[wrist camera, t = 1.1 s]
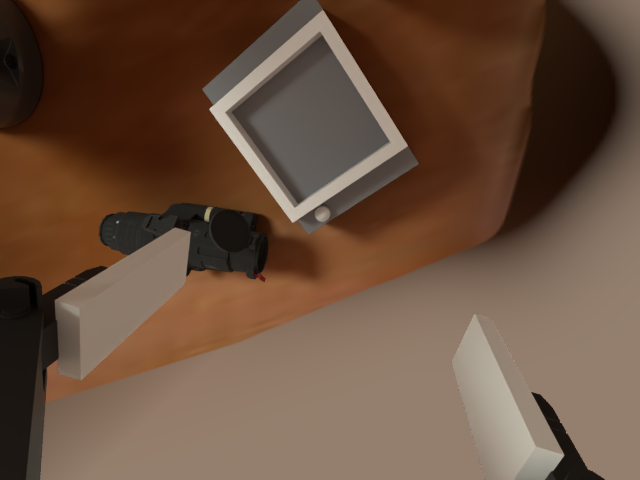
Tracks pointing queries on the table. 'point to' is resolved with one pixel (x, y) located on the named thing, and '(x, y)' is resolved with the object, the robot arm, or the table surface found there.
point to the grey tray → (308, 119)
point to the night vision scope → (194, 236)
